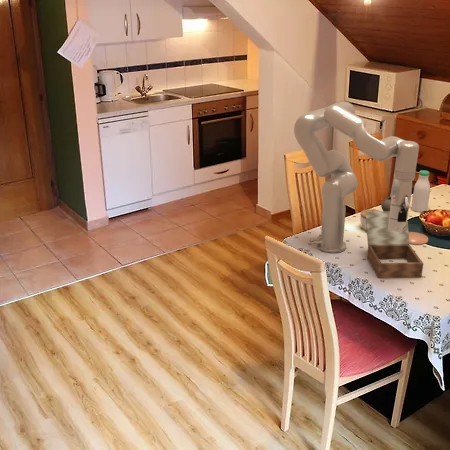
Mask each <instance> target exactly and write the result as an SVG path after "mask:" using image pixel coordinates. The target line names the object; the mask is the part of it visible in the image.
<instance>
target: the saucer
mask: <svg viewBox="0 0 450 450" xmlns="http://www.w3.org/2000/svg"><path fill="white" fill-rule="evenodd" d="M408 232H409V245H412V246H413V245H414V246H422V245H426V244H428V242H429V238H428V236H427V235H425V234H423V233H421V232H416V231H408Z"/></svg>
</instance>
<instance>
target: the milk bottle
mask: <svg viewBox="0 0 450 450" xmlns="http://www.w3.org/2000/svg"><path fill="white" fill-rule="evenodd" d="M429 177H430V171H428V170H423V169H421V170H420V171H419V172H418V179H417V181H416V182H415V184H414V187H413V190H412V192H413V193H412V198H411V210H412V211H413V212H417V213H424V212H423V211H426V212H428V209H429V203H430V202H429V200H430V194H431V185H430V181H429Z"/></svg>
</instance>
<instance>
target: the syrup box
mask: <svg viewBox="0 0 450 450" xmlns="http://www.w3.org/2000/svg"><path fill="white" fill-rule="evenodd" d="M402 204H404V201H403V203H402ZM403 208H404V206H402V209H403ZM409 209H410V208H409ZM409 209H408V211H409ZM399 212H400V207H399V206H397V205H396V204H395V195H392V198H391V206H390V215H389V223H388V230H392V231H396V232H401V233H402V232H403V231H404V229H405V228H406V225H407V221H408V217H409V212H408V213H407V219H406V222H398V221H397V220H398V213H399Z"/></svg>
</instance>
